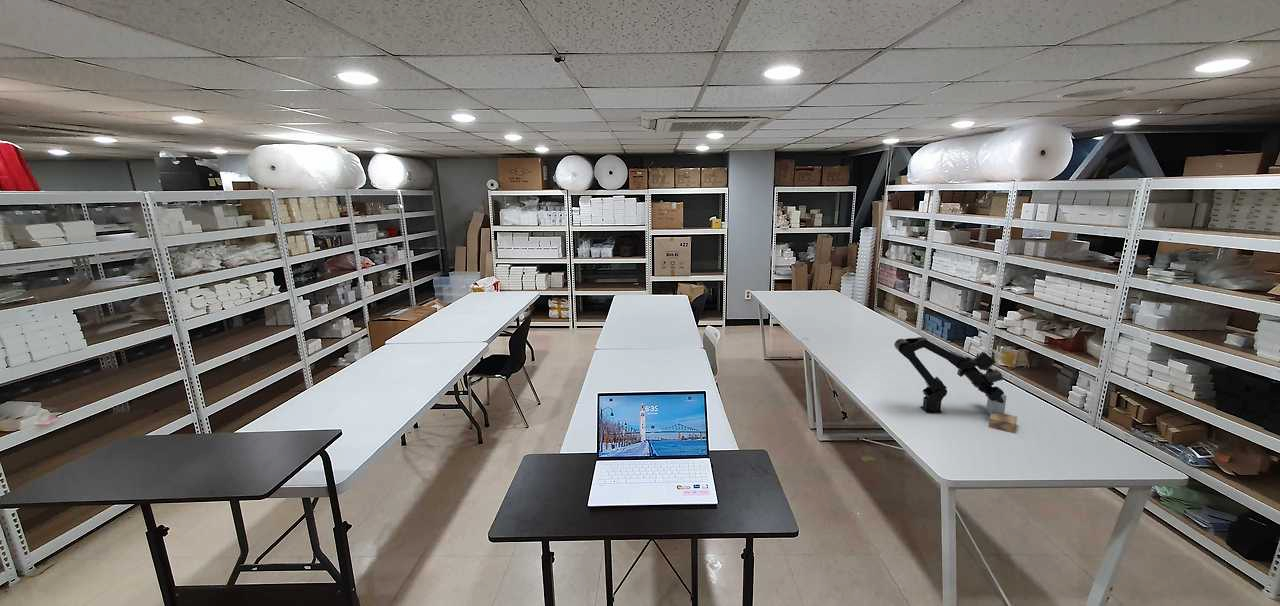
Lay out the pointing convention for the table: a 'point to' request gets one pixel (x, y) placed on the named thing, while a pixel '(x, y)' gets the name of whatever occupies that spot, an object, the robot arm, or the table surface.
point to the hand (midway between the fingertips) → (1000, 400)
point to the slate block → (996, 405)
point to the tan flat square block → (1002, 421)
